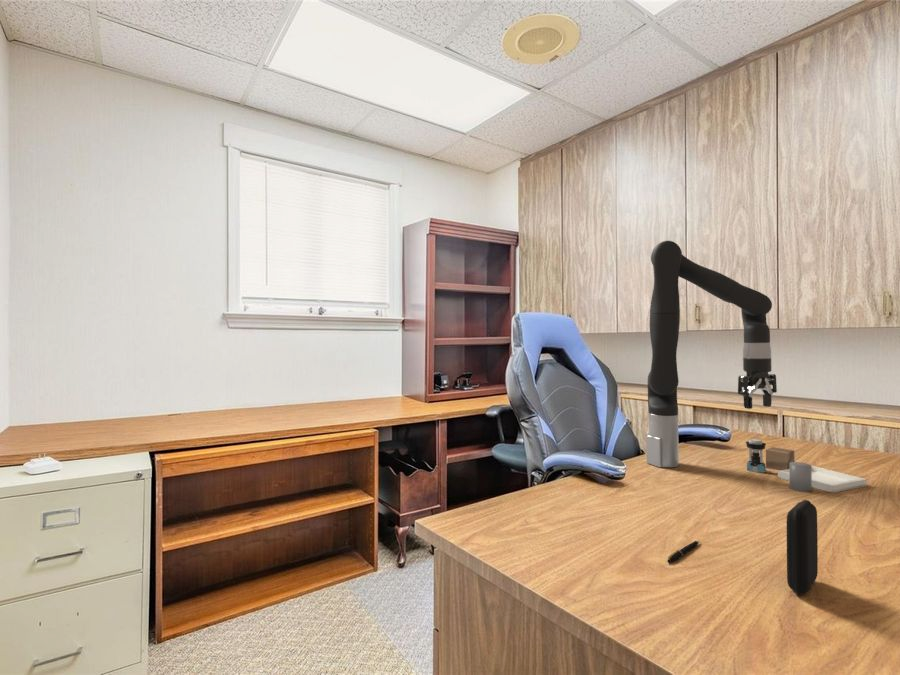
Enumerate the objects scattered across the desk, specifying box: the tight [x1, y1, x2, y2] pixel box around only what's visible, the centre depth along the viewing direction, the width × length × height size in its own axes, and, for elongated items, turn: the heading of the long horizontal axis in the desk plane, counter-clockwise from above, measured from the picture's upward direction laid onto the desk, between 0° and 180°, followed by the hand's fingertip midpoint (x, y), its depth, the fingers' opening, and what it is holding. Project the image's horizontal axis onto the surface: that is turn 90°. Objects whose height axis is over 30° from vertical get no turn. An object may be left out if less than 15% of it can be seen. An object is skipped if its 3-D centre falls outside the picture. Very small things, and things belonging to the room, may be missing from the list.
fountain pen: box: [667, 539, 700, 564], centre depth 95 cm, size 14×1×2 cm, turn 129°
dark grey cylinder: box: [789, 461, 813, 493], centre depth 131 cm, size 5×5×7 cm
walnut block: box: [765, 446, 796, 471], centre depth 152 cm, size 6×6×6 cm
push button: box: [745, 438, 772, 474], centre depth 148 cm, size 7×5×10 cm
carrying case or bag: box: [786, 499, 819, 596], centre depth 82 cm, size 11×3×15 cm, turn 131°
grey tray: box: [777, 465, 868, 494], centre depth 137 cm, size 15×15×2 cm
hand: (757, 407), depth 148 cm, fingers open, 8 cm apart
